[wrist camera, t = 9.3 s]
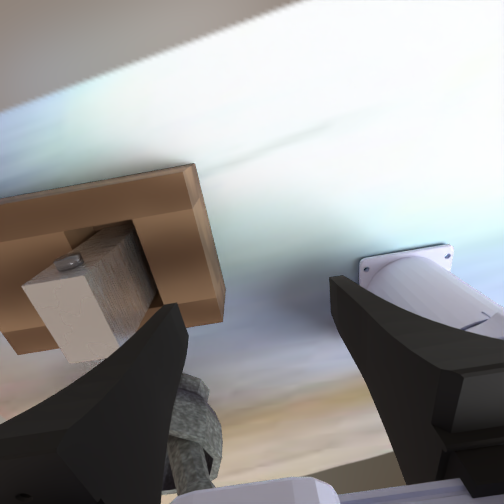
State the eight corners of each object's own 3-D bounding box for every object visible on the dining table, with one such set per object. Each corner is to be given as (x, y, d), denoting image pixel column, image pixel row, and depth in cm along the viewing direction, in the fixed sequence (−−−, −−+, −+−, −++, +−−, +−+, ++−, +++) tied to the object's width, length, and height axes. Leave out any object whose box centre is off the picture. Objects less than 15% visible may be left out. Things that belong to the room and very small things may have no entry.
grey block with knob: (164, 284, 22) (127, 362, 14) (129, 290, 22) (73, 370, 14) (140, 215, 19) (79, 265, 12) (100, 222, 19) (15, 277, 12)
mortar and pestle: (184, 432, 32) (155, 587, 21) (118, 395, 29) (45, 555, 18) (251, 385, 29) (259, 536, 18) (187, 339, 26) (150, 488, 15)
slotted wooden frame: (225, 289, 24) (222, 321, 20) (55, 317, 24) (17, 355, 20) (194, 163, 19) (182, 171, 15) (-15, 201, 20) (-81, 219, 16)
